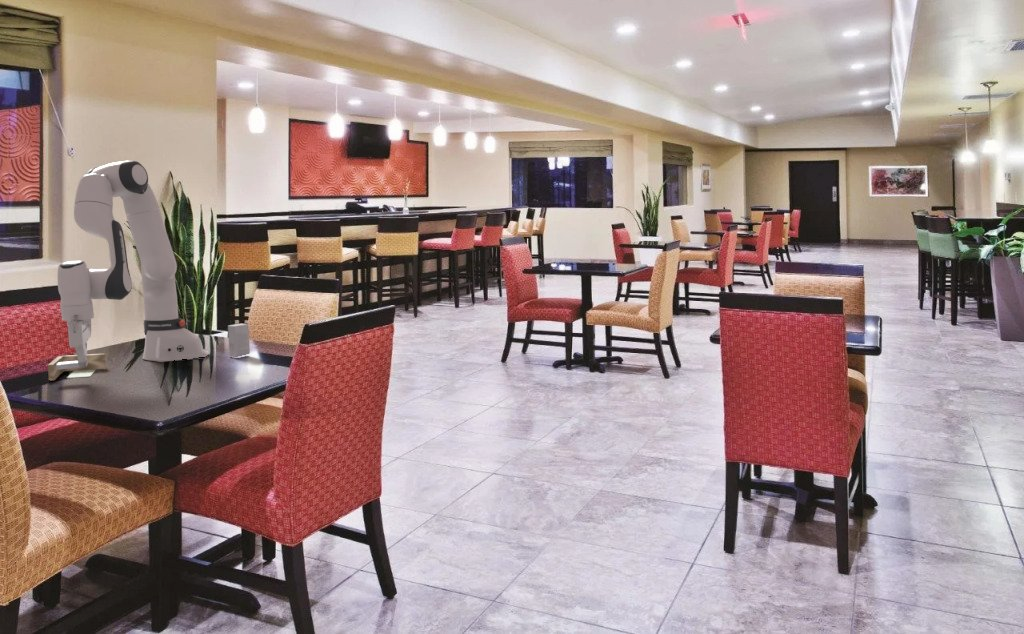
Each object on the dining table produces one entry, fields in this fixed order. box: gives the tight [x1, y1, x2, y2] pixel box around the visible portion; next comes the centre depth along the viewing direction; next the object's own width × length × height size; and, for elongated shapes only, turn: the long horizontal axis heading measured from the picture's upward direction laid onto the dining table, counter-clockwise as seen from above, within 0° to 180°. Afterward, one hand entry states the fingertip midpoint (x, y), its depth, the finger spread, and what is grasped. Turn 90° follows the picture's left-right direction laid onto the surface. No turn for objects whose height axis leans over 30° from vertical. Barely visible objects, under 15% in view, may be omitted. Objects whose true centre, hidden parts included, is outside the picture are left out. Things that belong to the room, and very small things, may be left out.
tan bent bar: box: [47, 353, 107, 382], centre depth 260 cm, size 14×16×5 cm
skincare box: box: [227, 323, 251, 357], centre depth 289 cm, size 6×4×12 cm
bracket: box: [56, 345, 88, 370], centre depth 247 cm, size 8×4×7 cm, turn 111°
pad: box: [66, 369, 97, 379], centre depth 260 cm, size 7×11×1 cm, turn 19°
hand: (82, 357), depth 249 cm, fingers closed on bracket, 4 cm apart
